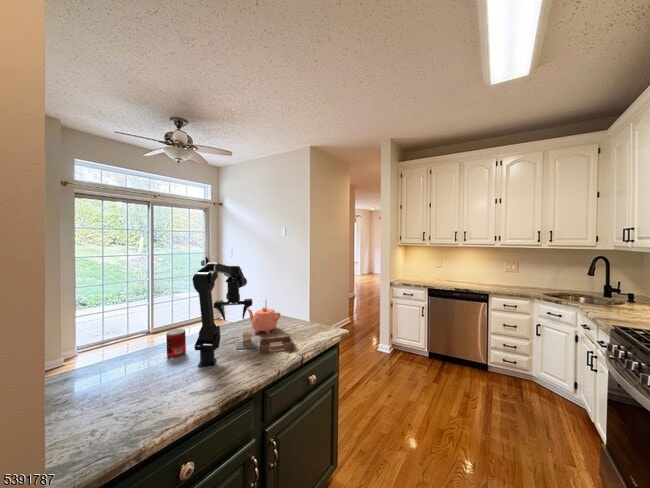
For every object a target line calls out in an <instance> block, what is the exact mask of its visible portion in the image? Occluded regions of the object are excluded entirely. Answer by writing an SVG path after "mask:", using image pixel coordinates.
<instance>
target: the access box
mask: <svg viewBox="0 0 650 488" xmlns="http://www.w3.org/2000/svg"><path fill="white" fill-rule="evenodd" d="M258 340H259V341H258V342H259V347H258V348H259V355H261V354H269V353H279V352H287V351H289V352H290V351H295V349H294V343H295V342H294V340H293V337H292V335H288V336H277V337H276V336H275V337H267V338H259V339H258Z"/></svg>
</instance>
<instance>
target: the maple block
mask: <svg viewBox="0 0 650 488" xmlns="http://www.w3.org/2000/svg"><path fill="white" fill-rule="evenodd" d="M242 341H243V346H249V345H251V341H252V331H251V330H245V331H243V332H242Z"/></svg>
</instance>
